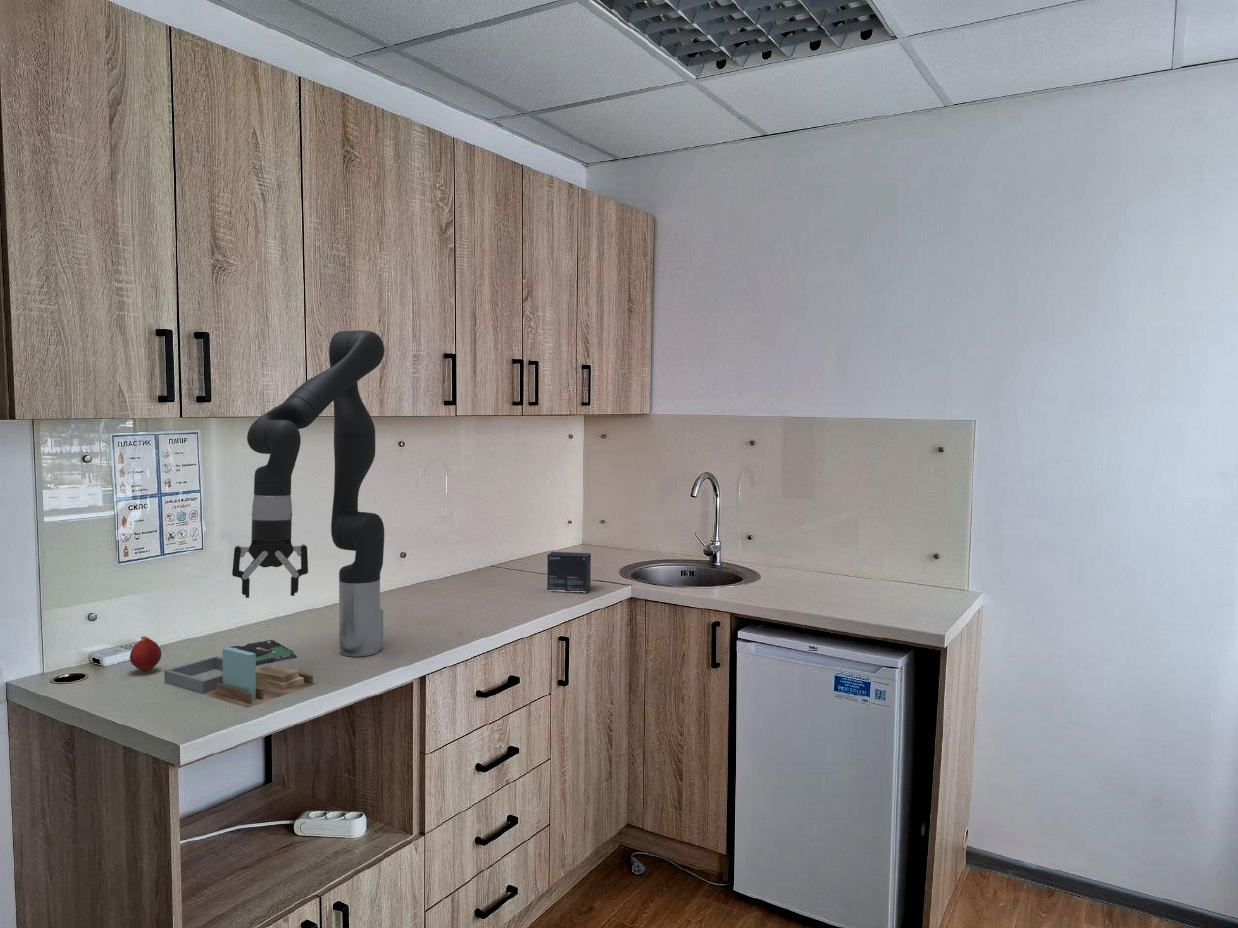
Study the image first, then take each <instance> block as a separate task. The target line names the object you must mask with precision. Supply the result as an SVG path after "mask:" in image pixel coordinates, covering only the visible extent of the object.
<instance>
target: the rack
mask: <svg viewBox="0 0 1238 928" xmlns="http://www.w3.org/2000/svg"><path fill="white" fill-rule="evenodd" d="M276 667H279V666H278V665H277V666H276ZM299 677H303V678H304V684H301V685H299V686H296V687H293V688H290V689H287V690H284V691H282V690H278V689H275V688H271V687H267V686H264V685H260V684H257V683H256V699H255V700H252V692H248V691H244V690H241V689H237V688H234V687H230V686H227V685H223V684H220V683H217V684H216V690H214V691H211V692H207V693H204V696H208V697H210V698H214V699H217V700H221V701H224V702H227V703H230V704H233V705H236V706H237V705H238V706H241V707H244V708H247V709H248V708H251V707H254V706H256V705H259V704H262V703H265V702H268V701H271V700H274V699H276V698H280V697H283V696H286V695H288V694H291V693H293V692H296V691H299V690H302V689H305V688H308V687H312V686H314V685H316V684H317V682H314V675H313V674H309V673H306V672H305V673H304V672H301V671H299Z"/></svg>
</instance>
